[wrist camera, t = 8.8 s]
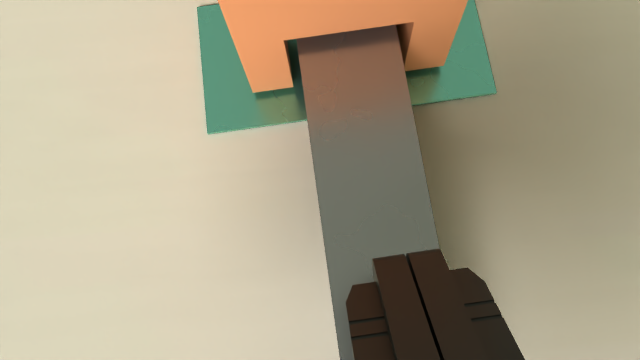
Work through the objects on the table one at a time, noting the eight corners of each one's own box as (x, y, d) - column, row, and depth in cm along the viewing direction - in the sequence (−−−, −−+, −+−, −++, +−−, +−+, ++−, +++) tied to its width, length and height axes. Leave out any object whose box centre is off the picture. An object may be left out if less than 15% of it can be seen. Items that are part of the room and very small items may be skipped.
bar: (584, 459, 16) (691, 515, 11) (238, 507, 16) (191, 584, 11) (447, -107, 21) (477, -237, 16) (191, -70, 21) (146, -189, 16)
